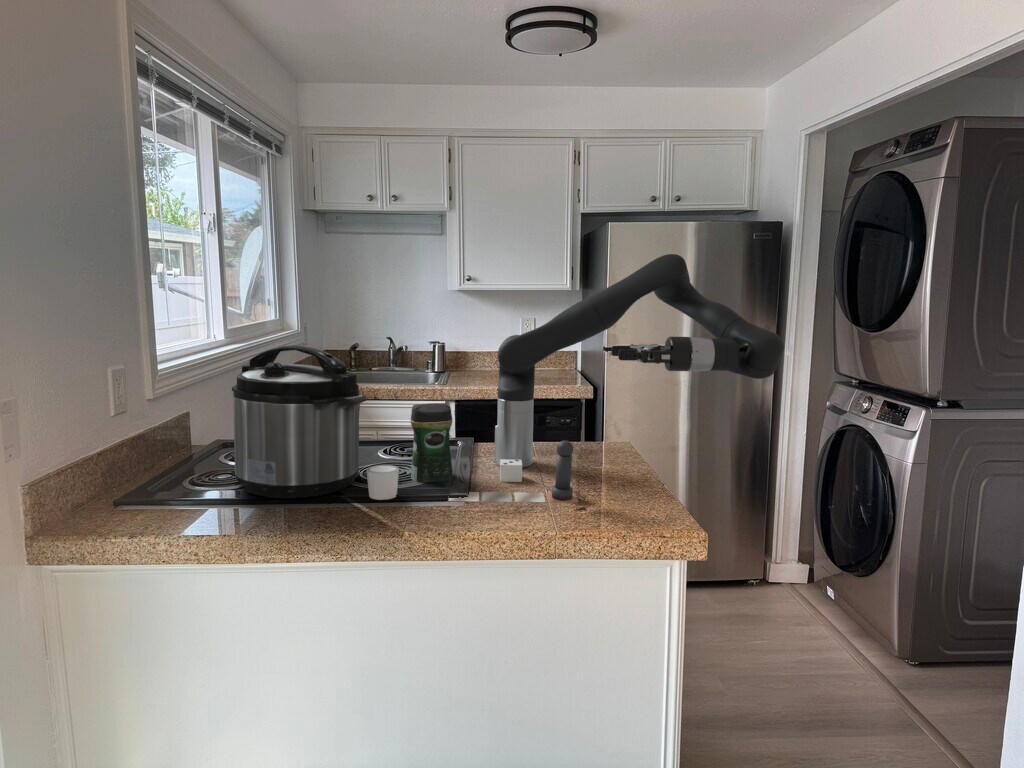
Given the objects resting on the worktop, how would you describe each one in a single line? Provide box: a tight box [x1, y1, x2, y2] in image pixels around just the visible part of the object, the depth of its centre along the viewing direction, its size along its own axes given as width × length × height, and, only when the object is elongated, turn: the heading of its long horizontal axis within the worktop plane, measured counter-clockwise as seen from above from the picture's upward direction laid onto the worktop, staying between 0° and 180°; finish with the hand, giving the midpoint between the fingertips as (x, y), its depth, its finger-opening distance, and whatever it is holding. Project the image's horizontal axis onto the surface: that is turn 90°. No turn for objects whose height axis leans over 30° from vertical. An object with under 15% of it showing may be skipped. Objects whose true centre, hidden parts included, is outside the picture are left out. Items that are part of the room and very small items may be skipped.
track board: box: [447, 490, 587, 511], centre depth 148 cm, size 30×10×1 cm, turn 92°
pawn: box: [551, 439, 574, 500], centre depth 148 cm, size 4×4×12 cm
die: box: [499, 459, 523, 483], centre depth 162 cm, size 5×5×5 cm
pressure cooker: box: [231, 345, 367, 499], centre depth 156 cm, size 30×28×32 cm
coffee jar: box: [409, 402, 454, 483], centre depth 161 cm, size 10×8×19 cm
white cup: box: [366, 464, 400, 501], centre depth 147 cm, size 7×7×7 cm
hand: (615, 352), depth 150 cm, fingers open, 8 cm apart
